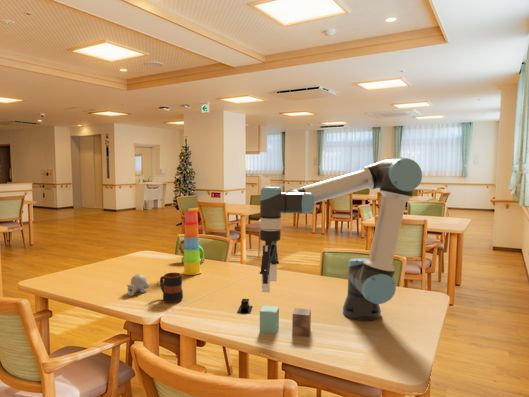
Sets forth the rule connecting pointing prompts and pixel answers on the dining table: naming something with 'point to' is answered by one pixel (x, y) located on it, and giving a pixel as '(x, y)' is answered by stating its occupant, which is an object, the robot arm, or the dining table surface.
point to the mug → (172, 287)
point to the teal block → (269, 319)
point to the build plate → (244, 307)
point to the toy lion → (181, 246)
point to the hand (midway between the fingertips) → (269, 286)
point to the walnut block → (301, 322)
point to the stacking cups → (191, 244)
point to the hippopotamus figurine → (137, 284)
